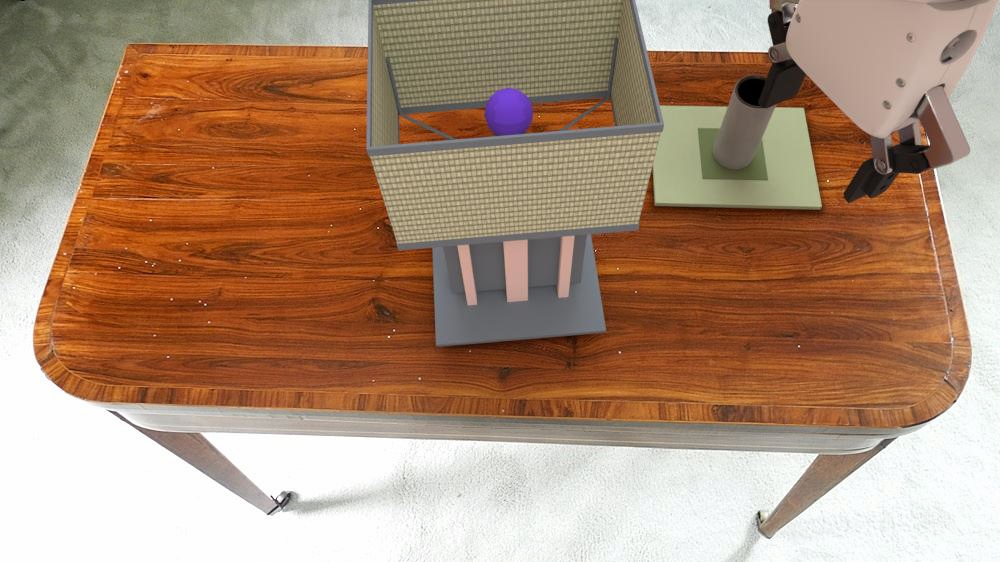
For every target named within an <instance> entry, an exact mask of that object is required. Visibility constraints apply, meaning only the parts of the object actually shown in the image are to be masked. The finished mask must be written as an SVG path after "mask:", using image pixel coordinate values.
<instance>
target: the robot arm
mask: <svg viewBox="0 0 1000 562" xmlns="http://www.w3.org/2000/svg"><path fill="white" fill-rule="evenodd" d="M998 2H999V0H769V9H770V10H771V13H769V14H768V16H767V25H768V29H769V35H770V38H771V42H772V46H770V47H768V50H767V56H768V59H769V60H770V62H771V66H770V68H769V71H768V73H767V76H766V77H767V78H766V81H765V85H764V88H763V90H762V93H761V96H760V98H759V101H758V104H759V105H760V106H761V107H762V108H766V109H767V108H769V107H772V106H774V105H776V104H777V105H778V104H780V103H783V102H785V101H787V100H790V99H792V98H794V97H795V96H797V95H798V94H799V91H800V89H801V87H802V84H803V82H804V80H805V78H806V76H807V77H808V78H809V79H810V80H811V81H812V82H813V83H814V84H815V85H816V86H817V87H818V88H819V90H821V91H822V92H823V94H825V95H826V96H827V97H828V99H830V101H831V102H833V104H835V105H836V107H837V108H839V110H840V111H842V113H843V114H845V116H846V117H847V118H848V119H849V120H850V121H851V122H853V123H854V124H855V125H856V126H857V127H858V128H859V129H860V130H862V131H863V132H865V133H866V134H868V135H869V140H870V148H871V154H872V157H871V158H869V159H866V160H864V161H863V162H862V163H861V165H860V166H859V168H858V169H857V171H856V172H855V174H854V176H853V177H852V179H851V180H850V182H849V183H848V185H847V186H846V188H845V190H844V191H843V193H842V195H843V199H844V200H845V202H847V204H851V203H853V202H855V201H858V200H859V199H862V198H863V197H866V196H867V197H868V198H869V199H874V198H876V197H878V196H880V195H882V194H883V193H885V192H886V191H887V190H888V189H889V188H890V187H891V186H892V184H893V182H894V181H895V180H896V179H897V177H898V176H899V174H900V173H902V174H911V175H912V174H915V175H920V174H922V173H924V172H927V171H932V170H936V169H938V168H942V167H945V166H948V165H952V164H953V163H956V162H957V161H959V160H962V159H964V158H966V157H967V156H969V155H970V153H971V147H970V144H969V142H968V140H967V138H966V136H965V134H964V131H963V129H962V127H961V125H960V122H959V120H958V118H957V116H956V114H955V111H954V109H953V107H952V105H951V102H950V100H949V99H950V97H951V95H952V94H953V92H954V91H955V89H956V88H957V86H958V84H959V83H960V81H961V79H962V77H963V76H964V74H965V72H966V71H967V69H968V67H969V65H970V63H971V62H972V60H973V58H974V56H975V55H976V52H977V50H978V48H979V47H980V44H981V43H982V41H983V38H984V36H985V34H986V32H987V29H988V28H989V25H990V23H991V20H992V18H993V15H994V13H995V10H996V7H997V4H998ZM777 105H776V106H777ZM921 126H922V128H923V131H924V132H925V135H926V137H927V140H928V142H929V144H923V143H922V133H921ZM896 132H898V138H899V143H897V144H895V145H893V138H892V134H894V133H896Z"/></svg>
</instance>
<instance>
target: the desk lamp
mask: <svg viewBox="0 0 1000 562" xmlns="http://www.w3.org/2000/svg"><path fill="white" fill-rule="evenodd" d="M367 6H368V7H367V9H368V10H367V73H366V74H367V80H366V81H367V83H366V87H367V88H366V90H367V91H366V152H367V155H368V157H369V158H370V162H371V163H372V164H371V165H372V167H373V170H374V174H375V177H376V181H377V184H378V186H379V189H380V193H381V196H382V199H383V203H384V205H385V208H386V212H387V216H388V219H389V220H390V222H389V223H390V225H391V227H392V231H393V234H394V238H395V240H396V247H397V250H398V251H407V250H409V251H410V250H421V249H432V273H433V274H432V275H433V277H432V278H433V302H434V304H433V305H434V327H435V347H437V348H438V347H439V348H440V347H452V346H464V345H474V344H484V343H485V344H487V343H498V342H499V343H500V342H511V341H512V342H513V341H521V340H522V341H523V340H535V339H546V338H557V337H558V338H559V337H568V336H569V337H570V336H580V335H582V336H583V335H593V334H603V333H604V334H605V333H606V332H607V326H606V321H605V314H604V308H603V301H602V297H601V296H602V295H601V289H600V283H599V275H598V270H597V264H596V263H597V262H596V257H595V251H594V245H593V237H592V235H599V234H609V233H612V234H613V233H624V232H634V231H635V232H637V231H639V227H640V219H641V216H642V211H643V206H644V203H645V199H646V195H647V190H648V187H649V183H650V178H651V176H652V175H651V174H652V172H653V169H652V167H653V163H654V158H655V154H656V150H657V146H658V142H659V138H660V134H661V132H663V128H664V122H663V117H662V113H661V109H660V106H661V104H660V101H659V97H658V96H659V95H658V91H657V88H656V84H655V78H654V74H653V71H652V67H651V62H650V58H649V53H648V49H647V44H646V42H645V41H646V40H645V35H644V32H643V27H642V23H641V19H640V14H639V10H638V6H637V2H636V0H368V5H367ZM591 99H592V100H593V99H601V100H600V101H598V102H597V103H596V104H594V105H593V106H591V107H590V108H589V109H587V110H586V111H584V112H583V113H581V114H580V115H579V116H577V117H576V118H574V119H572V121H570V122H569V123H568V124H566V125H565V126H563V127H562V128H561V129H559V130H554V131H542V132H531V133H530V132H529V133H526V132H527V131H528V129H529V128H530V127H531V125H532V122H533V118H534V108H533V104H544V103H545V104H546V103H556V102H569V101H578V100H579V101H580V100H591ZM608 99H609V101H610V106H611V107H610V108H611V112H612V117H613V122H614V126H601V127H591V128H579V129H569V128H571V127H573V125H575V124H576V123H577V122H579V121H581V120H582V119H584V118H585V117H586V116H588V115H589V114H590V113H592V112H593V111H595V110H596V109H597V108H599V107H600V106H602V105H603V104H604V103H605V102H607V101H608ZM483 108H485V109H484V114H483V116H484V119H485V122H486V125H487V127H488V129H489V131H491V132H492V133H493V135H494V136H484V137H472V138H471V137H470V138H459V139H457V138H455V137H452V136H450V135H448V134H446V133H444V132H442V131H440V130H438V129H435V128H434V127H431V126H429V125H428V124H425V123H423V122H422V121H420V120H417V119H415V118H413V117H411V116H410V115H412V114H425V113H435V112H436V113H438V112H449V111H461V110H473V109H483ZM400 116H401V117H402V118H403V119H406V120H407V121H409V122H411V123H413V124H416V125H418V126H420V127H421V128H424V129H426V130H428V131H430V132H432V133H434V134H437V135H438V136H441V137H443V138H445V139H446V140H435V141H423V142H411V143H400V141H401V140H400V135H401V134H400Z"/></svg>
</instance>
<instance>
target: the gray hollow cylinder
mask: <svg viewBox="0 0 1000 562" xmlns="http://www.w3.org/2000/svg"><path fill="white" fill-rule="evenodd" d="M766 78H767V76H764V75H760V74H750V75H746V76H743V77H741V78H739V79H738V80H737V82H736V83H735V85H734V87H733V90H732V93H731V95H730V99H729V103H728V105H727V106H726V107H727V110H726V113H725V116H724V119H723V121H722V124H721V127H720V130H719V133H718V136H717V138H716V141H715V144H714V148H713V156H714V158H715V160H716V161H717V162H718V163H719V164H720V165H721V166H723V167H725V168H728V169H733V170H737V169H742V168H745V167H747V166H748V165H749V164H750V163H751V161H752V159H753V158H754V155H755V153H756V151H757V148H758V146H759V144H760V142H761V139H762V137H763V135H764V132H765V130H766V128H767V126H768V123H769V121H770V119H771V116H772V114H773V112H774V110H775V107H777V105H778V104H776V105H774V106H772V107H769V108H767V109H766V108H762V107H761V106H760V105H759V104H758V101H759V98H760V96H761V93H762V90H763V88H764V85H765V81H766Z"/></svg>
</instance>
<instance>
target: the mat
mask: <svg viewBox="0 0 1000 562" xmlns="http://www.w3.org/2000/svg"><path fill="white" fill-rule="evenodd" d="M727 107H728V106H716V105H715V106H713V105H709V106H707V105H705V106H704V105H660V109H661V113H662V117H663V122H664V128H663V132H661V134H660V138H659V142H658V146H657V150H656V154H655V158H654V163H653V167H652V185H653V187H652V188H653V202H654V203H653V204H654V207H684V208H686V207H688V208H725V209H727V208H730V209H769V210H770V209H773V210H775V209H777V210H813V211H814V210H815V211H816V210H817V211H821V209H822V207H823V204H822V199H821V194H820V187H819V182H818V177H817V173H816V172H817V171H816V166H815V160H814V156H813V150H812V146H811V145H812V144H811V139H810V134H809V128H808V123H807V118H806V113H805V107H782V106H781V107H777V106H776V107H775V110H774V112H773V114H772V116H771V119H770V121H769V123H768V126H767V128H766V130H765V132H764V135H763V137H762V139H761V142H760V144H759V146H758V148H757V151H756V153H755V155H754V158H753V159H752V161H751V163H750V164H749V165H748V166H747V167H745V168H742V169H737V170H733V169H728V168H725V167H723V166H721V165H720V164H719V163H718V162H717V161H716V160H715V158H714V156H713V148H714V144H715V141H716V138H717V136H718V133H719V130H720V127H721V124H722V121H723V119H724V116H725V113H726V110H727Z"/></svg>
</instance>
